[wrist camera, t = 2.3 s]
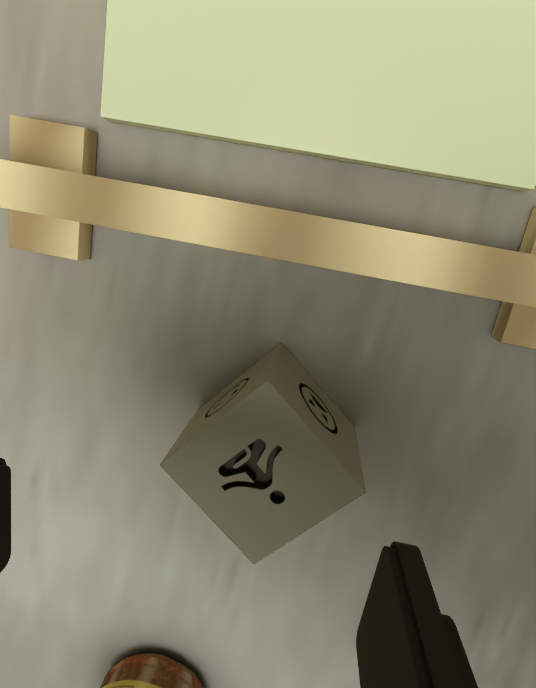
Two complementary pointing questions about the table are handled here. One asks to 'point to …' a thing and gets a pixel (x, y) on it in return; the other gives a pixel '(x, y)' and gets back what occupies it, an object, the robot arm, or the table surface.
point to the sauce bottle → (150, 673)
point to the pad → (336, 80)
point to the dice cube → (268, 456)
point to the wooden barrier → (243, 227)
